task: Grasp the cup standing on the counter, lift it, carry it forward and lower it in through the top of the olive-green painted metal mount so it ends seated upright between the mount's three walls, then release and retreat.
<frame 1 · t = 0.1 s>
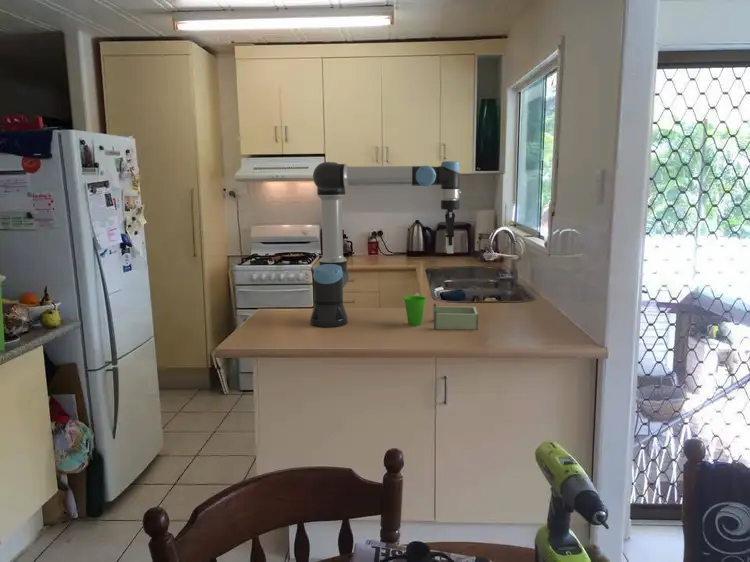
hand: (449, 251, 245), 28 cm above the countertop, fingers open, 13 cm apart
cup: (414, 325, 237), on the countertop
mount: (454, 324, 236), on the countertop
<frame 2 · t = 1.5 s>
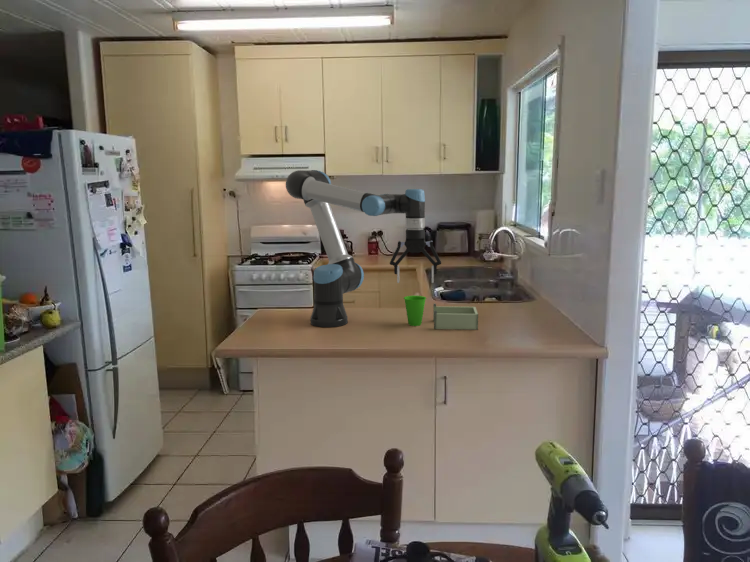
hand: (415, 282, 234), 17 cm above the countertop, fingers open, 13 cm apart
nothing on the countertop moved.
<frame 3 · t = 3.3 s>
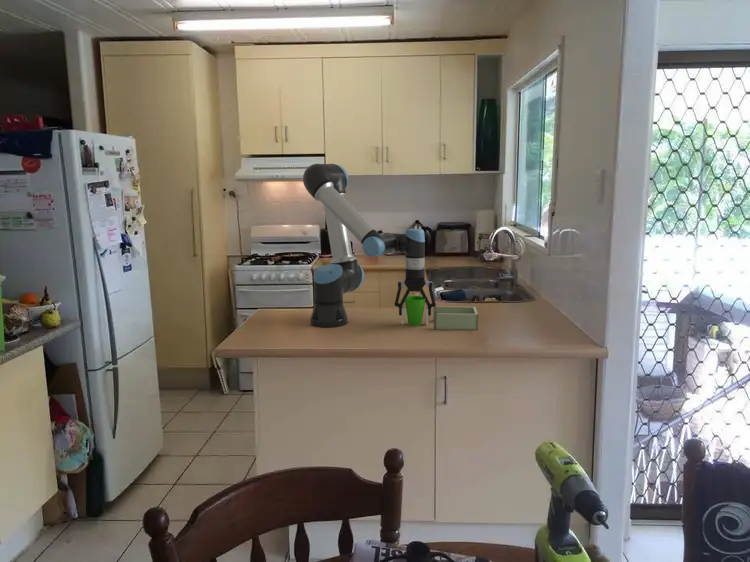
hand: (414, 323, 237), 0 cm above the countertop, fingers closed on cup, 9 cm apart
cup: (414, 324, 237), on the countertop, touching gripper
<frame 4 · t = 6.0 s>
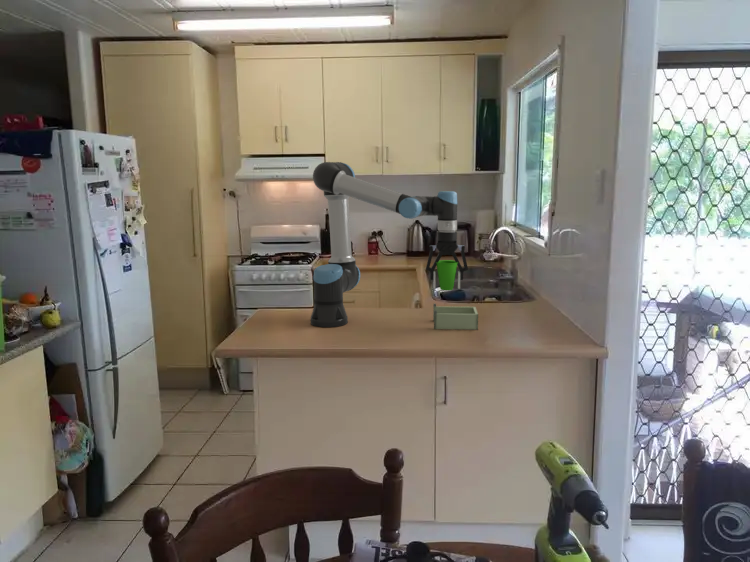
hand: (446, 287, 233), 15 cm above the countertop, fingers closed on cup, 9 cm apart
cup: (446, 289, 233), point 14 cm above the countertop, touching gripper
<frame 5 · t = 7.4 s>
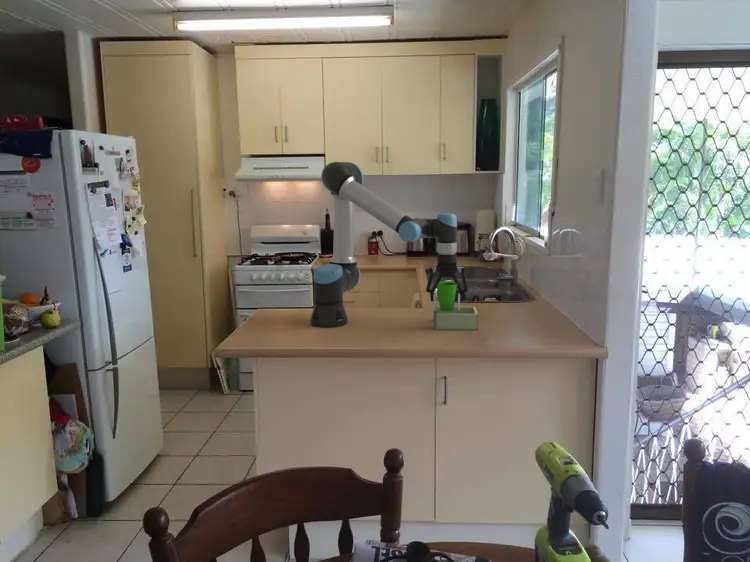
hand: (446, 309, 235), 6 cm above the countertop, fingers closed on cup, 9 cm apart
cup: (446, 310, 235), point 6 cm above the countertop, touching gripper
when the fingers open (2 cm above the countertop, at t = 8.7 s): cup drops 2 cm, on the countertop.
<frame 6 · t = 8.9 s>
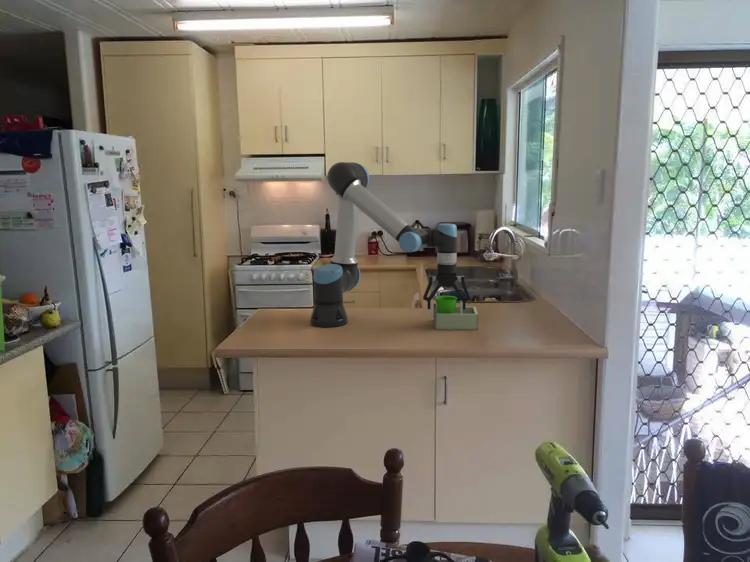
hand: (446, 317, 235), 3 cm above the countertop, fingers open, 11 cm apart
cup: (445, 325, 236), on the countertop
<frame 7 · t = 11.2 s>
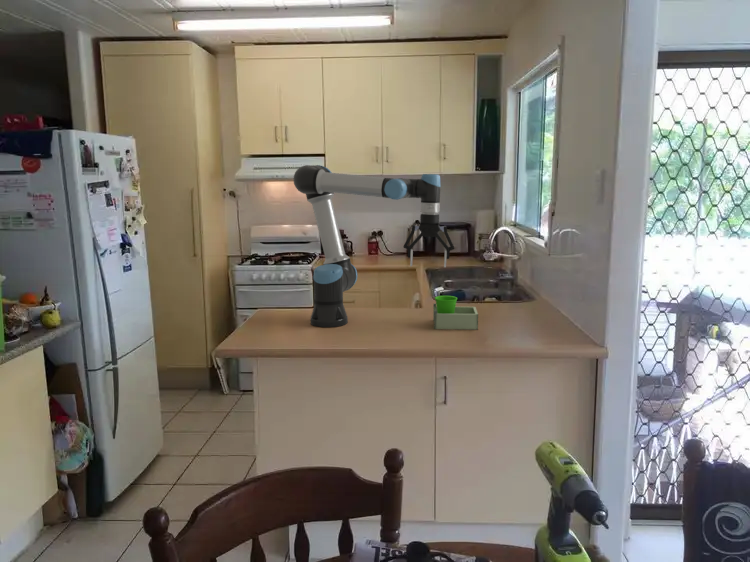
hand: (428, 266, 238), 23 cm above the countertop, fingers open, 13 cm apart
nothing on the countertop moved.
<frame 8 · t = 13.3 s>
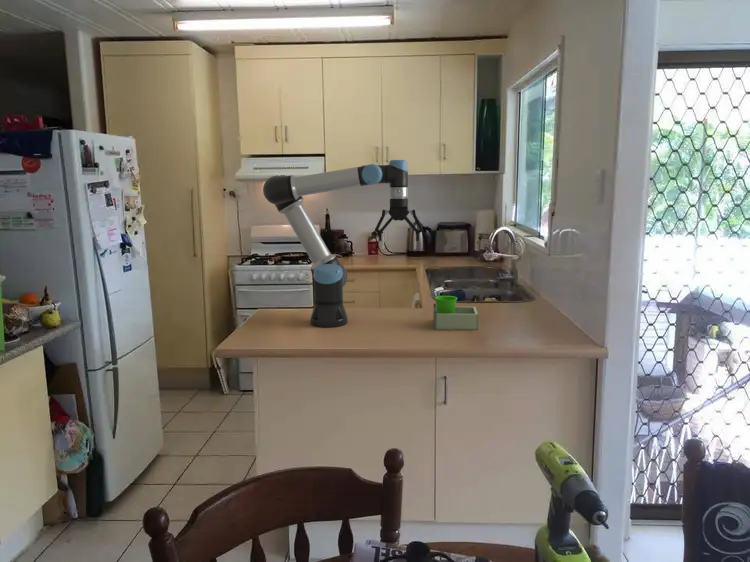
hand: (398, 249, 247), 29 cm above the countertop, fingers open, 13 cm apart
nothing on the countertop moved.
at the end: cup inside the target area (2.5 cm from its centre), on the countertop; cup tilted 0°; the gripper is holding nothing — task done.
